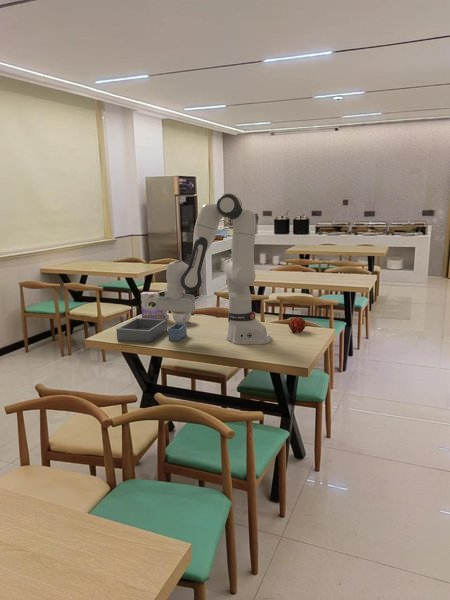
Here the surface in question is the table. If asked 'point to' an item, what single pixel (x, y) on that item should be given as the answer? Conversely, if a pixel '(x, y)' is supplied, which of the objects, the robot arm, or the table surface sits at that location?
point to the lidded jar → (180, 317)
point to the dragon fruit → (297, 324)
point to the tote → (177, 332)
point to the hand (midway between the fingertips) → (175, 319)
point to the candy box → (150, 306)
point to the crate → (141, 330)
